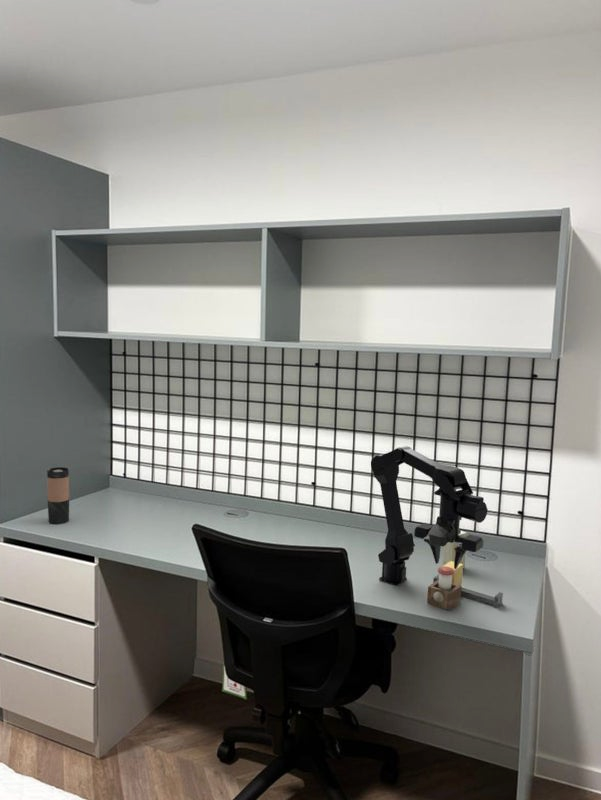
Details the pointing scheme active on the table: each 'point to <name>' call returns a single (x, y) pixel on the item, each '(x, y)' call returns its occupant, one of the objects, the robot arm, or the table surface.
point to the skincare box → (453, 551)
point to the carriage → (456, 572)
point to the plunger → (445, 577)
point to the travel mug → (58, 495)
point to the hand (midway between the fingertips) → (446, 565)
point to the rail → (479, 596)
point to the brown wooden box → (444, 596)
